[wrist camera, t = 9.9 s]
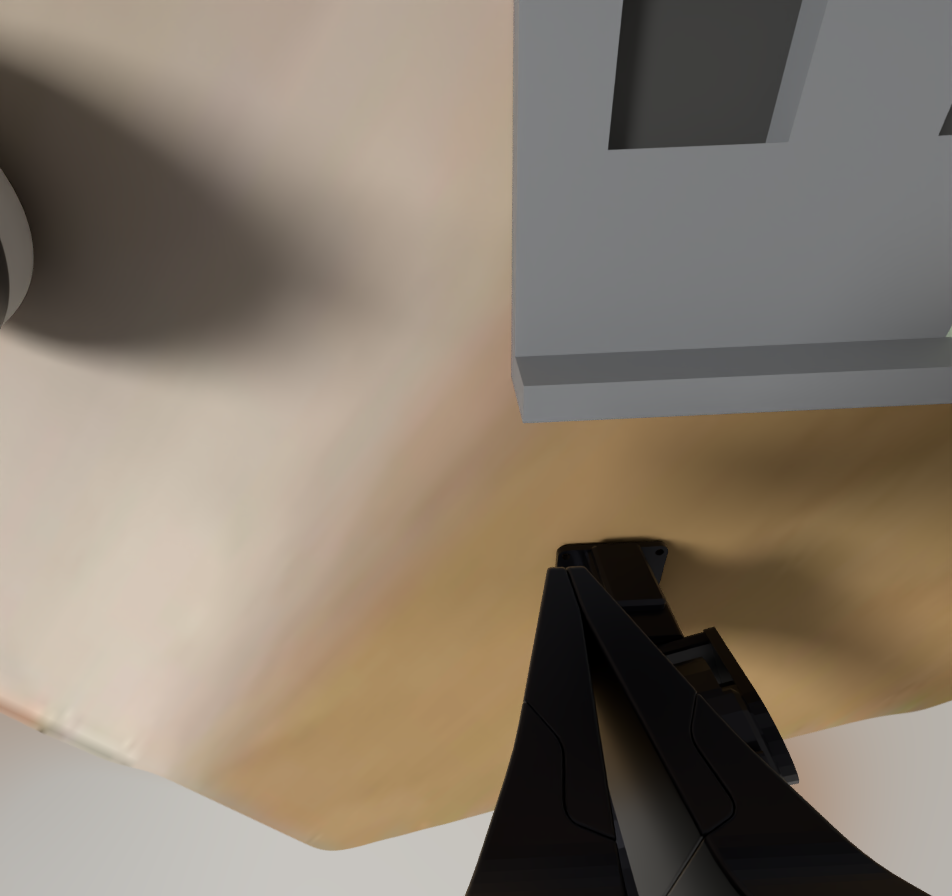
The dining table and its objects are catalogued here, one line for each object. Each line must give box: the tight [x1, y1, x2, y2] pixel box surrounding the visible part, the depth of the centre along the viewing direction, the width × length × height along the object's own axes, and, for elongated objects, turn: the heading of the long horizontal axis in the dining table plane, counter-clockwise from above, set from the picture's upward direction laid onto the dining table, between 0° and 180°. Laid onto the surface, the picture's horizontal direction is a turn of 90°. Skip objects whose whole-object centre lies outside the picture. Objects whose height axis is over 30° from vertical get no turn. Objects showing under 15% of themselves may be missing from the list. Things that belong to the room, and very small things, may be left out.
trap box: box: [511, 0, 952, 423], centre depth 14 cm, size 16×26×4 cm, turn 92°
